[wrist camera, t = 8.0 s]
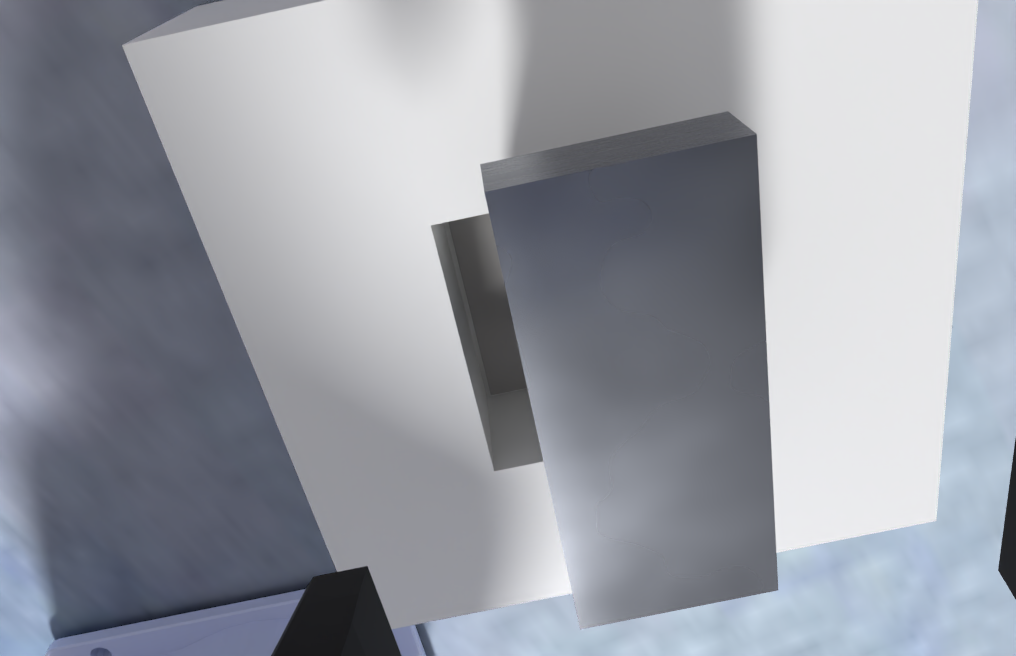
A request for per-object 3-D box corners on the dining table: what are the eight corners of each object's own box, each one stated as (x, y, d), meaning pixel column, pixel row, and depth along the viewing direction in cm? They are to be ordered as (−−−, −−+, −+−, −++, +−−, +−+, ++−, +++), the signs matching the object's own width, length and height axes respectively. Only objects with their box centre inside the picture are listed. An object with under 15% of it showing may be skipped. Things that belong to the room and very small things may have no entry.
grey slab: (537, 405, 18) (580, 629, 12) (466, 76, 14) (484, 192, 9) (675, 376, 17) (778, 590, 12) (637, 39, 14) (756, 134, 9)
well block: (375, 506, 21) (363, 634, 17) (196, 6, 15) (121, 45, 11) (849, 409, 20) (936, 520, 17) (856, -140, 14) (990, -147, 11)
